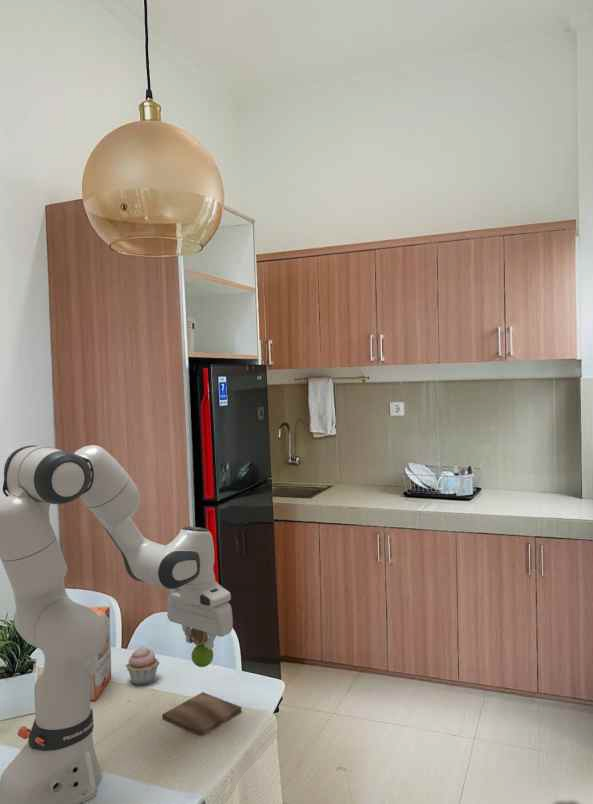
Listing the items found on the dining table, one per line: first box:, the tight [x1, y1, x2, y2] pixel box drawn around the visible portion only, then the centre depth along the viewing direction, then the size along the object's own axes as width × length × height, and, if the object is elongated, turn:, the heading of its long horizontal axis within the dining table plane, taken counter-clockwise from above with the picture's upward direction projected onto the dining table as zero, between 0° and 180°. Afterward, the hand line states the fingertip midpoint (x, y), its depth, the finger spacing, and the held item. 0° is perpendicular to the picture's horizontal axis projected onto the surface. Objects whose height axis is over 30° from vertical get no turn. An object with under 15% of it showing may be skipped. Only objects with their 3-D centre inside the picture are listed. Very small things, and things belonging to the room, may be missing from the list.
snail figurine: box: [191, 628, 214, 668], centre depth 165 cm, size 5×6×12 cm
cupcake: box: [125, 644, 160, 686], centre depth 186 cm, size 9×9×10 cm
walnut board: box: [162, 691, 242, 737], centre depth 166 cm, size 14×14×1 cm
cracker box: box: [89, 605, 112, 701], centre depth 181 cm, size 14×6×21 cm, turn 179°
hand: (199, 645), depth 165 cm, fingers closed on snail figurine, 5 cm apart
